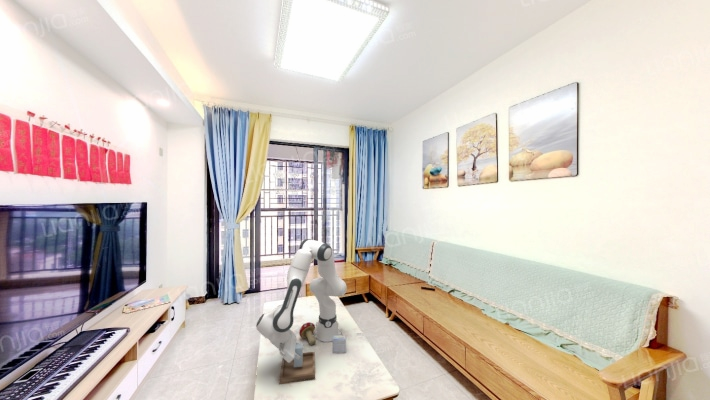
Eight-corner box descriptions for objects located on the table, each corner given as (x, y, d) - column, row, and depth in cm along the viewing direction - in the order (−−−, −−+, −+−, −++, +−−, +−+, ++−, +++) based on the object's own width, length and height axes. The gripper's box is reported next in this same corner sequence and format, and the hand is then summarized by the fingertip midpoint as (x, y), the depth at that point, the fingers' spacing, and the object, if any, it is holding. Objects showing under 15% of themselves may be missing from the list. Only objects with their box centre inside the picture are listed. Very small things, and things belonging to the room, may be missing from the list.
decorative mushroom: (317, 333, 147) (308, 315, 158) (302, 346, 143) (294, 327, 155) (324, 341, 153) (315, 323, 165) (309, 353, 150) (301, 334, 161)
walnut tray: (283, 359, 136) (283, 355, 136) (314, 356, 139) (314, 351, 139) (279, 384, 118) (279, 379, 118) (315, 379, 121) (315, 374, 121)
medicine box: (345, 348, 146) (345, 335, 146) (345, 353, 142) (345, 339, 142) (333, 348, 146) (333, 335, 146) (332, 353, 141) (332, 339, 141)
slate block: (294, 361, 130) (294, 343, 130) (302, 360, 131) (302, 343, 131) (293, 367, 126) (293, 349, 126) (302, 366, 127) (302, 348, 126)
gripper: (283, 345, 117) (303, 362, 119) (287, 323, 137) (304, 338, 139) (273, 355, 116) (294, 372, 118) (279, 332, 136) (296, 346, 138)
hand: (299, 354), depth 128 cm, fingers closed on slate block, 4 cm apart
